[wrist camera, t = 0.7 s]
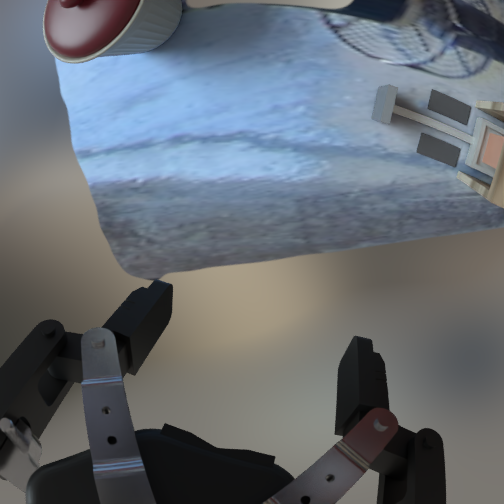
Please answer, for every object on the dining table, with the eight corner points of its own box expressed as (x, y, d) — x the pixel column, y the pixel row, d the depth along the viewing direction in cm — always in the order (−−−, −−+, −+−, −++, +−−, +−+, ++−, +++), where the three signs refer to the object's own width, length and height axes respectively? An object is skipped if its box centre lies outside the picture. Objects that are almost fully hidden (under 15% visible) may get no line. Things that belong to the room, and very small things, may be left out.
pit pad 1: (431, 89, 36) (432, 89, 36) (469, 106, 35) (470, 106, 35) (427, 108, 38) (428, 108, 37) (465, 124, 37) (466, 125, 37)
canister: (201, -36, 33) (135, -90, 15) (201, 58, 41) (124, 39, 23) (109, -11, 37) (26, -32, 18) (108, 75, 45) (17, 80, 27)
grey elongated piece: (369, 128, 41) (377, 133, 34) (380, 77, 37) (391, 73, 31) (508, 184, 38) (531, 198, 32) (521, 141, 34) (545, 150, 28)
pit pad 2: (421, 132, 40) (422, 132, 39) (459, 148, 39) (460, 148, 38) (416, 152, 41) (416, 152, 41) (454, 166, 40) (454, 167, 40)
